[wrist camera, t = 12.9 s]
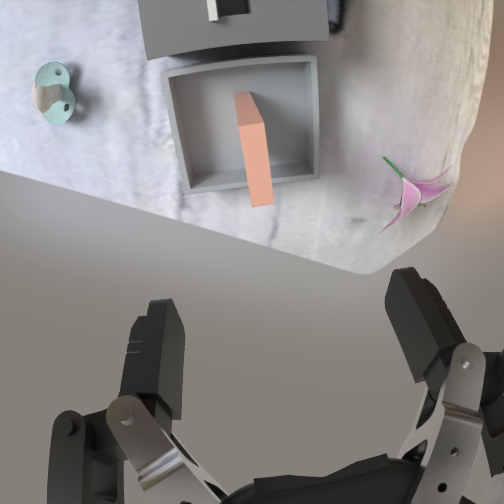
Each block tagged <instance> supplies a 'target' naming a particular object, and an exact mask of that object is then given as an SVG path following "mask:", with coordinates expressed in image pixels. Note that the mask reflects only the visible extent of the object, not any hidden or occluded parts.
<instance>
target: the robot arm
mask: <svg viewBox="0 0 504 504" xmlns="http://www.w3.org/2000/svg"><path fill="white" fill-rule="evenodd" d="M385 309H386V312H387V315H388V317H389V319H390V321H391V324H392V326H393V328H394V331H395V333H396V335H397V338H398V340H399V343H400V345H401V347H402V350H403V352H404V355H405V357H406V360H407V362H408V365H409V368H410V370H411V373H412V375H413V378H414V381H415V383H419V382H421V381H426V384H427V387H426V389H425V392H424V395H423V398H422V401H421V404H420V407H419V410H418V413H417V416H416V419H415V422H414V425H413V427H412V430H411V432H410V434H409V436H408V437H407V438H406V440H405V442H404V443H403V445H402V447H401V449H400V451H399V454H398V456H397V458H388V456H387V453H386V454H382V455H379V456H376V457H372V458H368V459H365V460H361V461H357V462H355V463H353V464H351V465H349V466H347V467H345V468H343V469H341V470H339V471H337V472H334V473H332V474H330V475H328V476H325V477H307V476H294V475H284V476H275V477H267V478H255V479H254V483H252V484H248V485H246V486H244V487H242V488H240V489H238V490H237V491H235V492H233V493H232V494H231V495H228V494H227V493H226V491H225V490H224V489H223V488H222V487H221V486H220V485H219V484H218V483H217V482H216V481H215V480H214V479H213V478H212V477H211V476H210V475H209V474H208V473H207V472H206V471H205V470H204V469H203V468H202V467H201V466H200V465H199V464H198V463H197V462H196V460H195V459H194V458H193V457H192V456H191V454H190V453H189V452H188V451H187V449H186V448H185V447H184V446H183V445H182V443H181V442H180V441H179V440H178V438H177V437H176V436H175V435H174V433H173V432H172V431H171V430H172V420H181V410H182V409H181V408H182V384H183V364H184V349H185V332H184V327H183V324H182V321H181V319H180V317H179V314H178V312H177V310H176V307H175V305H174V302H173V301H172V299H162V300H152V301H150V303H149V307H148V312H147V316H139V317H138V318H137V320H136V322H135V323H134V325H133V326H132V328H131V332H130V337H129V344H128V347H127V354H126V358H125V363H124V369H123V375H122V381H121V387H120V392H119V395H118V397H117V398H116V399H115V400H113V401H112V402H111V404H110V405H109V406H108V408H107V409H105V410H103V411H99V412H96V413H92V414H88V415H85V416H81V415H80V414H79V413H77V412H75V411H71V410H69V411H64V412H62V413H61V414H60V415H58V417H57V418H56V419H55V421H54V424H53V429H52V437H51V446H50V456H49V468H48V485H47V504H124V466H123V465H124V461H125V460H129V461H130V462H131V464H132V465H133V467H134V469H135V470H136V472H137V473H138V476H139V479H138V482H139V484H140V486H141V488H142V489H143V491H144V493H145V494H146V495H147V497H148V498H149V499H150V501H151V502H152V503H153V504H476V503H474V502H472V501H471V500H469V499H467V498H466V497H464V496H463V495H462V494H463V491H464V489H465V486H466V483H467V480H468V477H469V474H470V471H471V468H472V464H473V461H474V458H475V454H476V451H477V447H478V443H479V440H480V435H482V439H483V443H484V446H485V451H486V455H487V459H488V463H489V468H490V473H491V478H492V479H491V481H490V483H489V486H488V487H487V488H486V489H485V492H484V495H485V497H486V498H487V503H486V504H504V395H503V394H504V349H503V351H502V352H482V350H481V349H480V348H479V347H478V346H476V345H474V344H472V343H467V341H466V340H465V338H464V336H463V334H462V332H461V331H460V329H459V327H458V325H457V323H456V321H455V319H454V318H453V316H452V314H451V312H450V310H449V309H447V305H446V304H445V302H444V300H442V297H441V295H440V293H439V291H438V290H437V288H436V287H435V286H434V285H433V284H432V283H430V282H429V281H428V280H427V279H426V278H425V279H421V277H420V276H419V274H418V272H417V271H416V269H415V268H414V267H407V268H401V269H395V270H394V271H393V272H392V275H391V279H390V282H389V286H388V289H387V293H386V296H385Z"/></svg>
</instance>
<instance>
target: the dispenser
mask: <svg viewBox="0 0 504 504" xmlns="http://www.w3.org/2000/svg"><path fill="white" fill-rule="evenodd" d="M138 5H139V12H140V19H141V25H142V32H143V38H144V44H145V50H146V56H147V61H148V60H152V59H156V58H161V57H165V56H170V55H175V54H179V53H185V52H190V51H196V50H201V49H208V48H214V47H222V46H230V45H238V44H248V43H260V42H276V41H330V39H329V24H328V12H327V0H138Z"/></svg>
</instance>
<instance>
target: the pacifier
mask: <svg viewBox="0 0 504 504" xmlns="http://www.w3.org/2000/svg"><path fill="white" fill-rule="evenodd" d="M57 69H60V70H61V72H62V73H61V75H60V76H59V75H57V73H56V70H57ZM69 84H70V74H69V71H68V69H67V68H66V67H65V66H64V65H63V64H61V63H58V62H50V63H47V64H45V65H43V66H42V67H41V68H40V69H39V71H38V72H37V74H36V78H35V81H34V84H33V101H34V104H35V107H36V109H37V111H38V113H39V114H40V116H41V117H42V118H43V119H45V120H46V121H47V122H48V123H50V124H52V125H60V124H62V123H64V122H66V121H67V120H68V119H69V118H70V117H71V115H72V113H73V111H74V108H75V97H74V94H73V93H72V91H71V90H70V89H69ZM66 104H69V110H68V111H66V110H65V105H66Z"/></svg>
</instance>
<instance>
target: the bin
mask: <svg viewBox="0 0 504 504" xmlns="http://www.w3.org/2000/svg"><path fill="white" fill-rule="evenodd" d="M161 78H162V84H163V89H164V94H165V100H166V105H167V110H168V115H169V120H170V125H171V130H172V134H173V139H174V144H175V148H176V153H177V158H178V162H179V167H180V171H181V176H182V180H183V184H184V189H185V193H186V195H191V194H197V193H204V192H211V191H218V190H225V189H232V188H240V187H248V181H247V175H246V169H245V163H244V157H243V151H242V145H241V139H240V133H239V127H238V121H237V115H236V108H235V102H234V95H233V93H238V92H245V91H249V92H250V94H251V96H252V98H253V100H254V102H255V105H256V107H257V109H258V111H259V113H260V115H261V117H262V120H263V122H264V126H265V134H266V141H267V149H268V157H269V165H270V173H271V181H272V184H273V183H282V182H292V181H302V180H312V179H320V135H319V93H318V70H317V55H312V54H306V53H301V54H276V55H261V56H250V57H240V58H231V59H223V60H216V61H209V62H203V63H197V64H191V65H186V66H181V67H176V68H171V69H167V70H165V71H163V72H161Z"/></svg>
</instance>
